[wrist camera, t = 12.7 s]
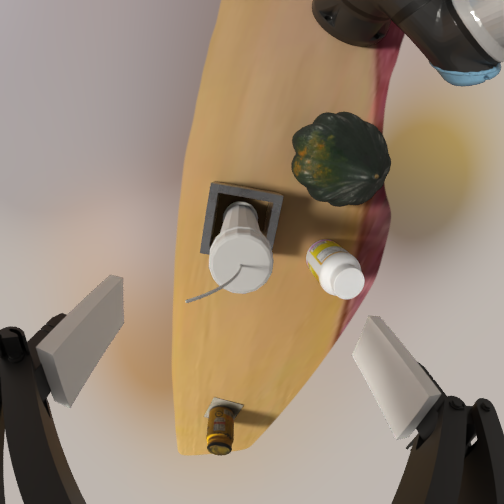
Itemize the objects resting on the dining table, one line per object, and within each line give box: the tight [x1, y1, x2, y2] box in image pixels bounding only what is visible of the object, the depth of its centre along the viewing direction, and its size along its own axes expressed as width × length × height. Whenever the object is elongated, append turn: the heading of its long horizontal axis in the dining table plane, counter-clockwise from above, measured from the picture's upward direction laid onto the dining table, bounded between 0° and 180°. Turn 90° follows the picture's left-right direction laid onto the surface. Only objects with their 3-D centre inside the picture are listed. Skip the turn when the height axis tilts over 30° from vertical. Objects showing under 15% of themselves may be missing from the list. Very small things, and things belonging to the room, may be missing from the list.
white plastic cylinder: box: [185, 201, 274, 303], centre depth 31 cm, size 6×6×30 cm
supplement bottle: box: [306, 239, 364, 299], centre depth 42 cm, size 7×7×13 cm
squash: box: [292, 112, 391, 207], centre depth 37 cm, size 14×15×15 cm
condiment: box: [204, 397, 243, 455], centre depth 52 cm, size 7×8×12 cm
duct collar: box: [200, 182, 283, 255], centre depth 42 cm, size 10×10×6 cm
